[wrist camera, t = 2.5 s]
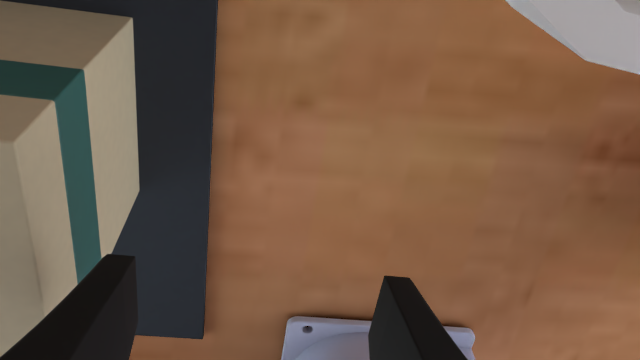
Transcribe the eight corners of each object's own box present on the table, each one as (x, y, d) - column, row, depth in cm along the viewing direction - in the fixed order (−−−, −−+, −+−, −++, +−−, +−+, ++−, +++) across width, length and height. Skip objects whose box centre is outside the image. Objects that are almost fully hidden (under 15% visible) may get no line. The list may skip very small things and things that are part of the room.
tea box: (133, 16, 18) (16, 141, 10) (140, 191, 21) (57, 379, 14) (-11, -3, 17) (-248, 115, 10) (22, 180, 21) (-133, 370, 13)
